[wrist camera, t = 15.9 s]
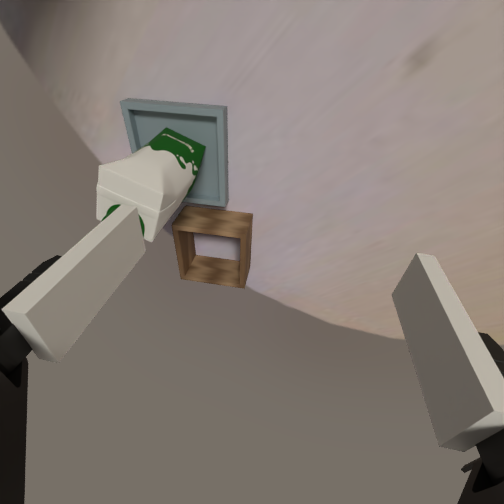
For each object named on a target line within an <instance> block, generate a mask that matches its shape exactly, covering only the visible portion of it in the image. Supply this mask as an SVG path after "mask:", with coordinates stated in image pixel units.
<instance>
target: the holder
mask: <svg viewBox="0 0 504 504" xmlns="http://www.w3.org/2000/svg"><path fill="white" fill-rule="evenodd" d="M252 219H253V214H250V213H242V212H234V211H226V210H217V209H209V208H201V207H193V206H185V207H184V208H183V210H182V211H181V212H180V214H179V215H178V216H177V218H176V219H175V221H174V222H173V223H172V230H173V236H174V242H175V248H176V253H177V260H178V265H179V271H180V277H181V279H184V280H192V281H197V282H204V283H211V284H218V285H224V286H232V287H238V288H245V284H246V280H247V277H248V273H249V269H250V260H251V239H252ZM193 232H196V233H204V234H212V235H219V236H227V237H235V238H241V239H240V261H235V260H228V259H221V258H213V257H206V256H199V255H196V252H195V244H194V235H193Z"/></svg>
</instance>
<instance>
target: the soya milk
mask: <svg viewBox="0 0 504 504" xmlns="http://www.w3.org/2000/svg"><path fill="white" fill-rule="evenodd" d="M205 148H206V146H204V145H202V144H200V143H198V142H196V141H194V140H192V139H190V138H188V137H186V136H184V135H181V134H179V133H177V132H175V131H173V130H171V129H169V128H167V127H166V128H165V129H163V130H162V131H161V132H160V133H159V134H158V135H157V136H155V137H154V138H153V139H152V140H151V141H150V142H148V143H147V144H146V145H144V146H143V147H141V148H140V149H138V150H137V151H135V152H134V153H132V154H131V155H129V156H128V157H126V158H125V159H122V160H118V161H114V162H111V163H107V164H103V165H100V166H99V176H98V178H99V179H98V184H97V191H96V192H97V210H96V218H97V219H98V220H101V222H102V221H103V220H104V219H106V218H107V217H108V216H109V215H110V214H111V213H112V212H114V211H115V210H116V209H117V208H118V207H119V206H120V205H122V204H124V205H130V206H136V207H137V210H138V215H139V220H140V224H141V229H142V234H143V239H145V240H148V241H150V242H153V241H154V239H155V238H156V236H157V235H158V234H159V232H160V231H161V230H162V228H163V227H164V225H165V224H166V223H167V221H168V220H169V219H170V217H171V216H172V215H173V213H174V212H175V211H176V210H177V208H178V207H179V206H180V204H181V203H182V202H183V200H184V199H185V198H186V196H187V195H188V194H189V192H190V191H191V190H192V188H193V186H194V184H195V181H196V178H197V174H198V171H199V168H200V165H201V161H202V158H203V155H204V152H205Z"/></svg>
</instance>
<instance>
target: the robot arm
mask: <svg viewBox="0 0 504 504" xmlns="http://www.w3.org/2000/svg"><path fill="white" fill-rule="evenodd" d="M145 252H146V249H145V244H144V239H143V234H142V229H141V224H140V220H139V215H138V210H137V207H136V206H130V205H124V204H122V205H120V206H119V207H118V208H117V209H116V210H115V211H114V212H112V213H111V214H110V215H109V216H108V217H107V218H106V219H104V220H103V221H102V222H101V223H100V224H99V225H98V226H96V227H95V228H94V229H93V230H92V231H91V232H90V233H88V234H87V235H86V236H85V237H84V238H83V239H82V240H80V241H79V242H78V243H77V244H76V245H75V246H74V247H73V248H71V249H70V250H69V251H68V252H67V253H66V254H64V255H63V256H58V255H57V256H55V257H53V258H51V259H49V260H47V261H45V262H43V263H42V264H41V265H39V266H38V267H37V268H36V269H34V270H33V271H32V273H31V274H28V275H27V276H26V277H25V278H24V279H23V281H20V282H19V283H18V284H17V285H15V286H14V287H13V288H12V289H11V290H10V291H8V292H7V293H6V294H4V295H3V296H2V297H1V298H0V504H24V495H25V459H26V458H25V456H26V424H27V387H28V361H27V358H26V356H27V355H28V354H29V353H30V352H31V350H33V351H34V353H35V354H36V355H37V357H38V358H39V359H43V360H47V361H52V362H56V363H59V362H60V361H61V359H62V358H63V357H64V356H65V354H66V353H67V352H68V350H69V349H70V348H71V347H72V345H73V344H74V343H75V341H76V340H77V339H78V338H79V336H80V335H81V333H83V331H84V330H85V328H86V327H87V326H88V325H89V323H90V322H91V321H92V320H93V318H94V317H95V316H96V314H97V313H98V312H99V310H100V309H101V308H102V307H103V305H104V304H105V303H106V302H107V300H108V299H109V298H110V297H111V295H112V294H113V293H114V291H115V290H116V289H117V287H118V286H119V285H120V284H121V282H122V281H123V280H124V279H125V277H126V276H127V275H128V273H129V272H130V271H131V269H132V268H133V267H134V266H135V265H136V263H137V262H138V261H139V259H140V258H141V257H142V255H143V254H144V253H145ZM392 298H393V301H394V304H395V307H396V310H397V314H398V317H399V320H400V323H401V326H402V330H403V333H404V336H405V339H406V342H407V345H408V349H409V352H410V355H411V358H412V361H413V365H414V368H415V371H416V374H417V377H418V380H419V384H420V387H421V390H422V393H423V396H424V400H425V403H426V406H427V409H428V413H429V416H430V419H431V422H432V425H433V429H434V432H435V435H436V438H437V441H438V445H439V447H444V448H448V449H453V450H458V451H462V452H465V451H467V450H468V449H470V448H472V447H474V446H477V449H478V452H479V454H480V458H478V459H476V460H474V461H472V462H470V463H468V464H466V465H465V466H463V468H462V469H461V470H462V471H463V472H464V473H465V472H467V471H469V470H471V469H472V471H471V473H470V475H469V478H468V480H467V482H466V485H465V487H464V489H463V492H462V494H461V497H460V499H459V501H458V504H504V351H503V349H502V348H501V347H500V346H499V345H498V344H497V343H496V342H495V341H494V340H493V339H492V338H491V337H490V336H489V335H488V334H485V333H480V332H477V330H476V328H475V326H474V325H473V323H472V321H471V319H470V318H469V316H468V314H467V312H466V311H465V309H464V307H463V305H462V304H461V302H460V300H459V298H458V296H457V295H456V293H455V291H454V289H453V288H452V286H451V284H450V282H449V281H448V279H447V277H446V275H445V274H444V272H443V270H442V268H441V266H440V265H439V263H438V261H437V259H436V258H435V256H433V255H427V254H421V253H416V255H415V256H414V258H413V260H412V261H411V263H410V265H409V266H408V268H407V270H406V271H405V273H404V275H403V276H402V278H401V280H400V282H399V283H398V285H397V287H396V288H395V290H394V292H393V293H392Z"/></svg>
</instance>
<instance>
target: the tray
mask: <svg viewBox="0 0 504 504" xmlns="http://www.w3.org/2000/svg"><path fill="white" fill-rule="evenodd" d="M120 104H121V109H122V113H123V117H124V121H125V126H126V130H127V134H128V138H129V143H130V147H131V151H132V153H134V152H135V151H137V150H138V149H140V148H141V147H143V146H144V145H146V144H147V143H148V142H150V141H151V140H152V139H153V138H154V137H155V136H157V135H158V134H159V133H160V132H161V131H162V130H163V129H165V128H166V127H167V128H169V129H171V130H173V131H175V132H177V133H179V134H181V135H184V136H186V137H188V138H190V139H192V140H194V141H196V142H198V143H200V144H202V145H204V146H206V148H205V152H204V155H203V158H202V161H201V165H200V168H199V171H198V174H197V178H196V181H195V184H194V186H193V188H192V190H191V191H190V192H189V194H188V195H187V196H186V198H185V199H184V200H183V202H188V203H197V204H205V205H213V206H222V207H226V205H227V203H228V132H227V106H217V105H205V104H193V103H180V102H168V101H156V100H143V99H131V98H128V99H125V100H122V101H120Z"/></svg>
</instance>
